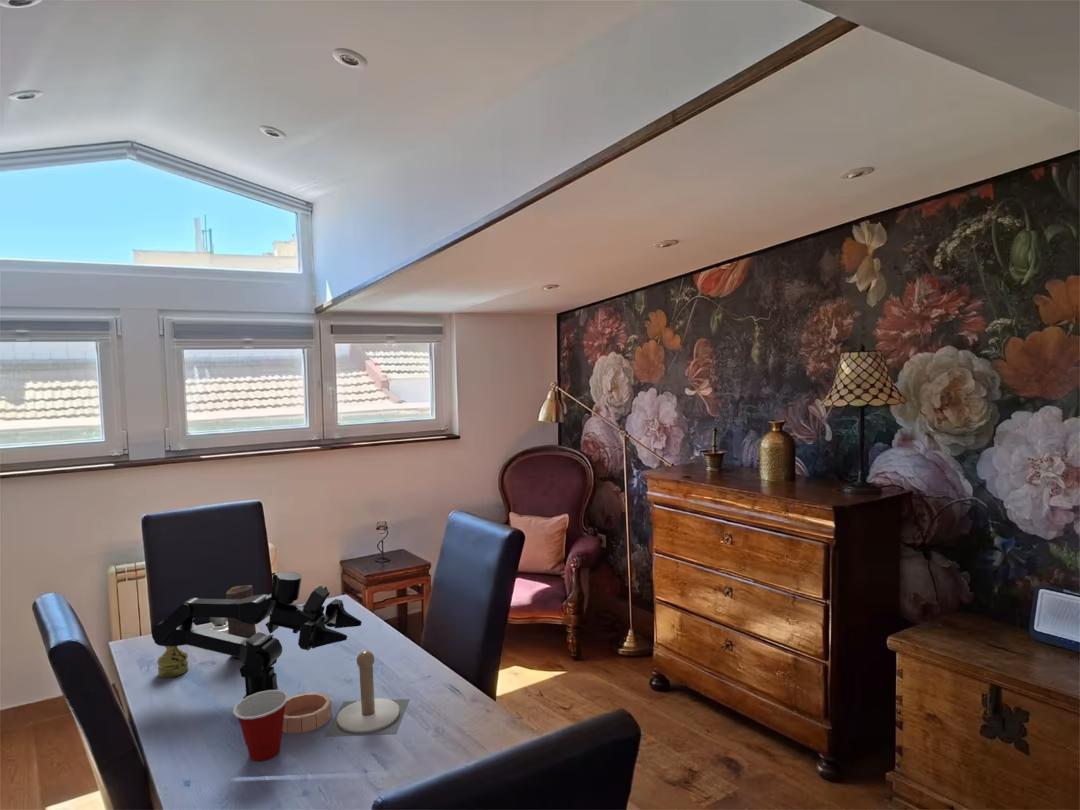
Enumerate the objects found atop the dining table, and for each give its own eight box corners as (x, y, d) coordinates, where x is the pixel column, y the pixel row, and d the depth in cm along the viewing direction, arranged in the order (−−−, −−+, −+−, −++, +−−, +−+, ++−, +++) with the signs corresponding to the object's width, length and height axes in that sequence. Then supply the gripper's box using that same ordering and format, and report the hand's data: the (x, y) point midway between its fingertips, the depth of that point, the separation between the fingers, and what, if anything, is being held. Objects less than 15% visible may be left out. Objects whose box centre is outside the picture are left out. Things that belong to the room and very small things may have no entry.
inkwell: (211, 649, 206) (209, 616, 206) (189, 634, 219) (187, 603, 218) (242, 639, 213) (240, 607, 212) (219, 626, 225) (217, 595, 225)
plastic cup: (226, 759, 146) (223, 704, 145) (274, 737, 154) (271, 684, 154) (252, 777, 139) (248, 719, 138) (301, 753, 147) (297, 698, 147)
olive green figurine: (167, 667, 194) (165, 632, 194) (194, 666, 194) (191, 631, 194) (152, 678, 187) (149, 642, 187) (179, 678, 187) (177, 641, 186)
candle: (246, 661, 196) (242, 591, 195) (223, 660, 198) (219, 591, 197) (262, 650, 204) (258, 583, 203) (240, 649, 205) (236, 582, 204)
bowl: (268, 736, 155) (267, 719, 155) (287, 710, 167) (286, 693, 166) (321, 734, 155) (320, 717, 155) (337, 708, 167) (336, 691, 167)
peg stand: (329, 734, 154) (325, 665, 153) (346, 703, 168) (343, 640, 167) (392, 731, 154) (389, 663, 153) (404, 701, 168) (401, 638, 167)
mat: (323, 739, 153) (323, 736, 153) (343, 703, 169) (343, 701, 169) (396, 736, 153) (396, 733, 153) (409, 701, 169) (409, 699, 169)
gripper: (281, 598, 163) (343, 612, 162) (316, 574, 182) (372, 587, 180) (274, 644, 164) (336, 658, 163) (309, 615, 183) (366, 628, 181)
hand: (354, 630), depth 172 cm, fingers open, 9 cm apart
